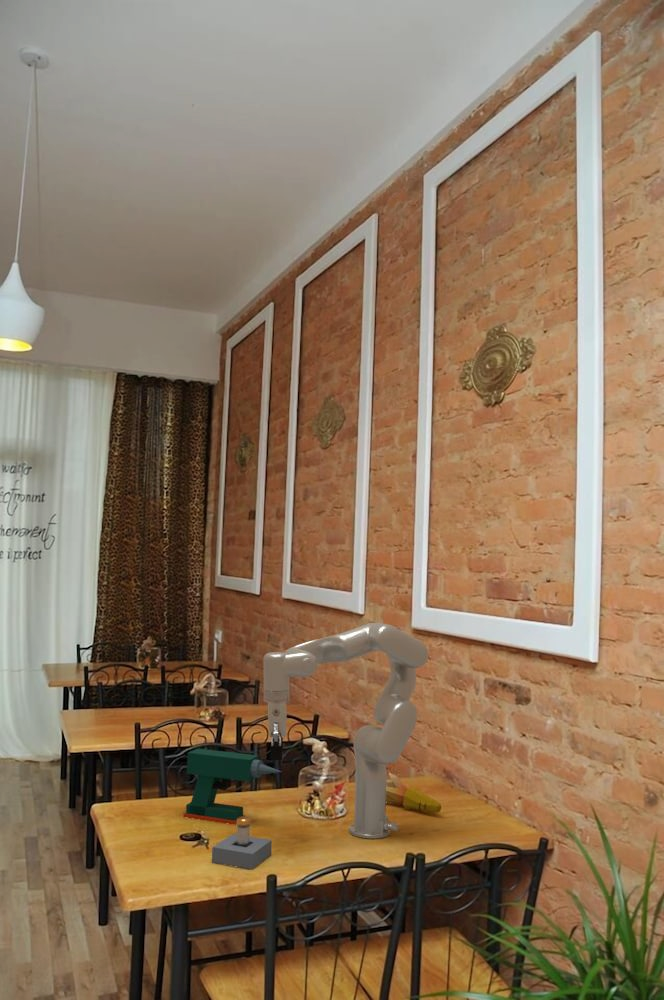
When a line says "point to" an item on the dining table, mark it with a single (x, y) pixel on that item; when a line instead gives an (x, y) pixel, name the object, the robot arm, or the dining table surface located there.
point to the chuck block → (241, 852)
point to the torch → (409, 797)
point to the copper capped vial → (243, 831)
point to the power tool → (208, 782)
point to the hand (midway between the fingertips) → (276, 755)
